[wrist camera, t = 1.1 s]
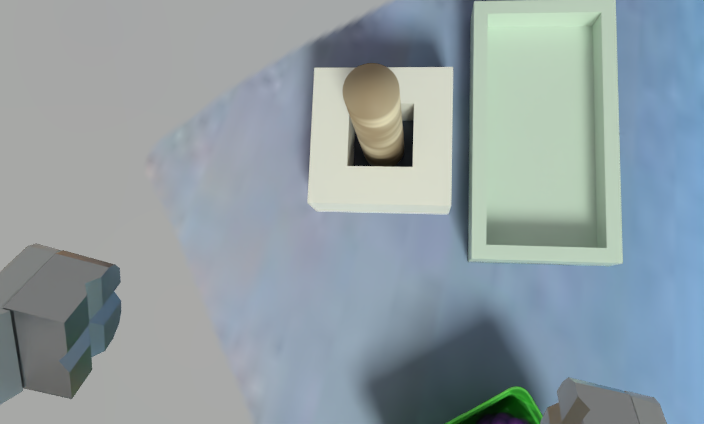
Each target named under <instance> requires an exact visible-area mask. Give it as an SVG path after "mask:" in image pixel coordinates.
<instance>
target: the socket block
mask: <svg viewBox="0 0 704 424" xmlns="http://www.w3.org/2000/svg"><path fill="white" fill-rule="evenodd" d="M387 68H389V69H390V70H391V71H392V72H393V73H394V74H395V76H396V78H397V80H398V83H399V89H400V100H401V112H402V120H414V127H413V167H384V166H354V144H355V129H354V126H353V124H352V121H351V118H350V115H349V113H348V110H347V107H346V104H345V102H344V98H343V91H342V90H343V84H344V81H345V79H346V77H347V76H348V74H349V73H350V72H351V71H352V70H353V69H355V68H314V86H313V106H312V125H311V145H310V165H309V184H308V204H309V205H310V206H312V207H313V208H314V209H315V210H316V211H319V212H363V213H407V214H449V211H450V208H451V179H452V112H453V67H387Z"/></svg>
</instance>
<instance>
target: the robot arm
mask: <svg viewBox="0 0 704 424" xmlns="http://www.w3.org/2000/svg"><path fill="white" fill-rule="evenodd" d="M119 284H120V268H119V267H117V266H116V265H115V264H111V263H107V262H104V261H100V260H96V259H93V258H89V257H86V256H82V255H78V254H75V253H71V252H67V251H64V250H62V251H61V250H57V249H54V248H50V247H47V246H43V245H40V244H33V245H30V246H27V247H26V248H25V249H24V250H23V251H22V252H21V253H20V254H19V255H18V256H16V257H15V258H14V259H13V260H12V261H11V262H10V263H9V264H8V265H7V266H6V267H5V268H4V269H3V270H2V271H1V272H0V404H2V403H3V402H5V401H7V400H9V399H10V398H12V397H14V396H15V395H17V394H19V393H20V392H22V391H23V388H25V389H29V390H34V391H38V392H43V393H47V394H51V395H56V396H61V397H65V398H69V399H72V398H73V397H74V395H75V394H76V392H77V391H78V389H79V388H80V386H81V385H82V383H83V382H84V381H85V379H86V378H87V376H88V375H89V373H90V372H91V370H92V360H91V357H93V356H95V355H97V354H99V353H101V352H104V351H105V350H106V348H107V347H108V345H109V344H110V342H111V341H112V339H113V337H114V334H115V332H116V330H117V327H118V325H119V321H120V315H121V300H120V299H119V297H118V296H117V295H116V293H115V292H114V290H115V289H116V288H117V286H118V285H119ZM557 395H558V400H559V403H556V404H554V405H552V406H550V407H548V408H547V409H546V411H545V413H544V415H543V417H542V419H541V422H540V424H667V423H666V420H665V417H664V415H663V412H662V409H661V406H660V404H659V402H658V401H657V400H656V399H655V398H654V397H650V396H645V395H641V394H637V393H633V392H628V391H622V390H619V389H615V388H611V387H606V386H602V385H598V384H594V383H590V382H586V381H581V380H577V379H573V378H569V377H568V378H567V379H566V380H564V381H563V382H562V384H561V385H560V387H559V389H558V390H557Z"/></svg>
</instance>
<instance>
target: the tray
mask: <svg viewBox="0 0 704 424" xmlns="http://www.w3.org/2000/svg"><path fill="white" fill-rule="evenodd" d="M468 262H495V263H527V264H559V265H590V266H612V265H617V264H622V263H623V256H622V220H621V183H620V146H619V109H618V73H617V36H616V0H513V1H474V4H473V10H472V15H471V26H470V119H469V212H468Z"/></svg>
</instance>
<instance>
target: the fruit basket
mask: <svg viewBox="0 0 704 424" xmlns="http://www.w3.org/2000/svg"><path fill="white" fill-rule="evenodd" d="M542 417H543V416H542V414H541V412H540V410H539V409H538V407H537V405H536V404H535V402H534V400H533V398H532V397H531V395H530V394H529V392H528V391H527V390H525V389H524V388H522V387H518V386H514V387H510V388H508V389H506V390H505V391H503V392H501V393H500V394H498V395H496V396H494V397H493V398H491V399H489V400H487V401H486V402H484V403H482V404H480V405H478V406H477V407H475V408H473V409H471V410H469V411H468V412H466V413H463V414H461V415H459V416H457V417H456V418H454V419H452V420H450V421H449V422H447V423H445V424H540V422H541V419H542Z"/></svg>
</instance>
